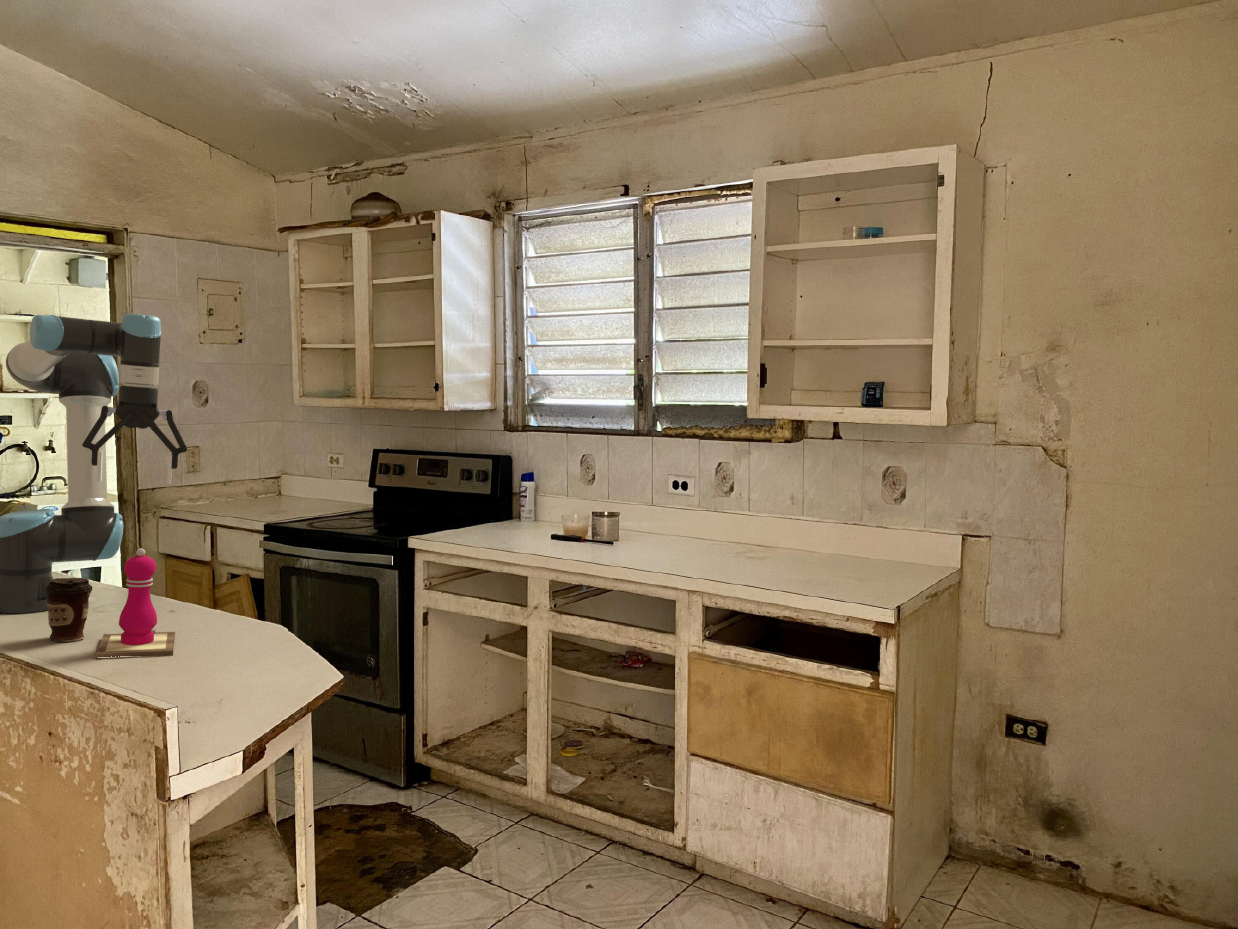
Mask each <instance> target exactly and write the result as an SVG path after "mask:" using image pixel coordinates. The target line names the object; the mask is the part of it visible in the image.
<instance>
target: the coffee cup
mask: <svg viewBox="0 0 1238 929" xmlns="http://www.w3.org/2000/svg"><path fill="white" fill-rule="evenodd" d="M50 582H51V583H49V585H48V586H47V587H46V591H47V595H48V600H47V605H48V610H47V618H48V626H49V628H50V629H51V633H50V635H49V640H50V639H51V640H50V641H53V640H55V641H54V642H76V641H81V639H82V640H84V639H85V635H84V629H85V624H86V621H87V619H88V612H89V604H90V603H89V599H90V595H91V593H92V591H93V586H92V585H91V584H90V580H89V578H83V577H60V578H59V577H58V578H57V577H56V578H53V579H52V580H50ZM83 638H84V639H83Z"/></svg>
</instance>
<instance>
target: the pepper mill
mask: <svg viewBox="0 0 1238 929" xmlns="http://www.w3.org/2000/svg"><path fill="white" fill-rule="evenodd" d="M135 554H136V555H133V556H131V557H129V558H128V559H127V560H126V562H125V563H124V567H123V570H124V573H125V575H126V576H127V578H126V584H125V586H127V589H128V590H127V591H128V592H127V593H128V594H127V598H126V602H125V604H124V607H123V608H122V610H121V612H120V615H119V620H118V626H119V627H120V628H121V630H122V631H123V632H121V633H120V634H121V643H123V644H127V645H142V644H148V643H151V642H153V641H154V632H153V631H151V630H152V629H155V627H156V626H157V623H158V617H157V616H158V615H157V611H156V609H155V607H154V604H153V601H152V598H151V586H152V585H153V584H154V583H153V580H154V579H153V577H152V576H153V575H154V574H155V573H156V571H157V564H156V562H155V560H154V559H153V558H152V557H150V556H147V555H146V550H145V549H144V548H138V549H137V550H136V551H135Z"/></svg>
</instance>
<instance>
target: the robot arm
mask: <svg viewBox="0 0 1238 929" xmlns="http://www.w3.org/2000/svg"><path fill="white" fill-rule="evenodd" d="M161 323H162V322H161V319H160V318H159V316H158V317H157V316H155V315H148V314H141V313H140V314H138V313H124V314H123V315H122V321H121V322H117V321H107V320H99V319H98V320H97V319H85V318H77V317H70V316H69V317H68V316H61V315H59V316H58V315H55V314H49V315H48V314H36V315H34V316H33V317H32V318H31V322H30V327H29V339H28V340H27V341H25V342H22V343H18V344H16V345H15V346H14V347H12V348H11V349H10V350H9V352H8V353H7V355H6V358H5V367H6V368H5V369H6V370H7V372H8V373H9V376H10V377H11V378H12V380H13V379H14V381H16V382H17V383H18V384H20V385H21V386H23V387H24V388H28V389H29V390H32V391H36V392H41V393H50V394H52V393H53V394H58V401H59V403H60V404H61V405H62V406H64V408H65V419H66V457H67V458H66V463H67V464H66V465H67V466H66V469H67V502H66V503H65V504H64V505H63V506H62V507H61V509H60V512H61V514H55V512H54V510H52V509H50V508H39V509H37V508H36V509H35V508H34V509H26V510H24V509H23V510H19V511H18V510H17V511H13V512H8V513H5V514H3V515H1V516H0V614H28V613H29V614H30V613H37V612H38V613H39V612H45V611H48V605H47V600H48V595H47V591H46V587H47V586H48V585H49V583H51V582H50V580H52V579H54V577H53V572H52V571H53V564H54V563H67V562H68V563H69V562H83V561H84V562H86V561H88V562H89V561H94V562H96V561H98V560H99V561H100V560H108V559H109V560H110V559H112V558H113V557H115V556H116V555H117V554H118V551H119V549H120V547H121V544H122V540H123V535H124V521H123V515H122V514H120V513H118V512H115V505H114V504H112V502H110V501H109V500H108V487H107V486H108V482H107V481H108V479H107V477H108V476H107V442H108V441H109V440H110V439H111V438H112V437H113V436H114V435H116V434H117V433H118V432H119V431H120V430H121V429H122V428H123V427H124V426H125V427H127V428H128V429H135V428H137V429H140V430H141V429H148V428H150V429H151V431H152V432H154V435H156V436H157V437H158V439H159V440H160V441H161V442H162V444H164V446H165V447H166V448H167V449H168V450H169V451H170V453H168V455H167V476H166V477H167V478H166V485H171V484H172V469H173V470H177V469H178V466H179V464H178V463H179V455H180V454H182V453H186V452H187V451H188V447H187V445H186V443H185V440H184V438H183V436H182V434H181V432H180V430H179V427H178V426H177V425H176V422H175V420H174V413H173V410H172V409H165V410H159V408H158V399H159V398H158V397H159V389H158V388H157V387H156V386H158V385H159V382H160V381H159V379H160V378H159V377H160V358H161V357H160V355H161V354H160V353H161V338H162V337H161V336H162V324H161ZM114 357H118V358H120V364H119V368H118V366H117V363H116V362H117V361H116V360H115V359H114ZM119 384H121V385H120V386H119ZM117 395H118V404H117V407H113V406H109V404H111V403H112V397H115V396H117ZM113 414H116V415H117V417H118V418H119V421H118V422H117V423H116V424H115V425H114V426H112V428H111V429H110V430H109V431H108V432H106V420H107V418H108V417H111V416H112V415H113ZM159 416H161V417H162V419H163V420H165V421H166V422H167V424H168V426H169V429H170V431H171V433H172V434H173V436H174V439H175V441H176V443H177V445H178V447H176V445H175V444H174V443H173V442H172V441H171V440H170V439H169V438H168V436H167V435H166V434H165V433H164V432H163V431H162V429H161V428H160V427H159V425H158V424H157V423H156V422H155V421H156V420H157V419H158V418H159Z"/></svg>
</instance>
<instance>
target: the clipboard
mask: <svg viewBox="0 0 1238 929" xmlns="http://www.w3.org/2000/svg"><path fill="white" fill-rule="evenodd" d="M151 631H153V632H154V641H153V642H151V643H148V644H142V645H127V644H123V643H121V634H122V633H106V634H105V633H104V634H103V635H102V638H101V641H100V643H99V645H98V649H97V651H96V654H95V658H96V657H111V656H112V657H115V656H116V657H118V656H119V657H120V656H148V657H166V656H173V655H174V651H175V650H174V648H175V640H176V639H175V638H176V631H158V632H157V631H156V628H153V629H152V630H151Z"/></svg>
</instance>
